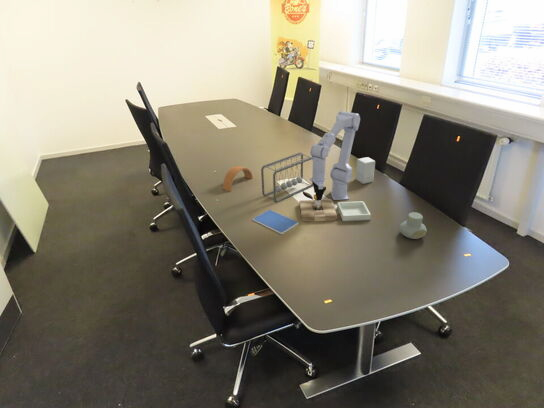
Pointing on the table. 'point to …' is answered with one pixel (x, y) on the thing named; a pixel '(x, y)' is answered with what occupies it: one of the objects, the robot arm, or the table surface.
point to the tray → (353, 211)
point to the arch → (231, 175)
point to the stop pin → (317, 203)
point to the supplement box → (365, 170)
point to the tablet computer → (275, 221)
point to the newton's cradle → (288, 183)
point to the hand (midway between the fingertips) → (317, 196)
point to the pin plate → (317, 215)
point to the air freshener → (413, 226)
